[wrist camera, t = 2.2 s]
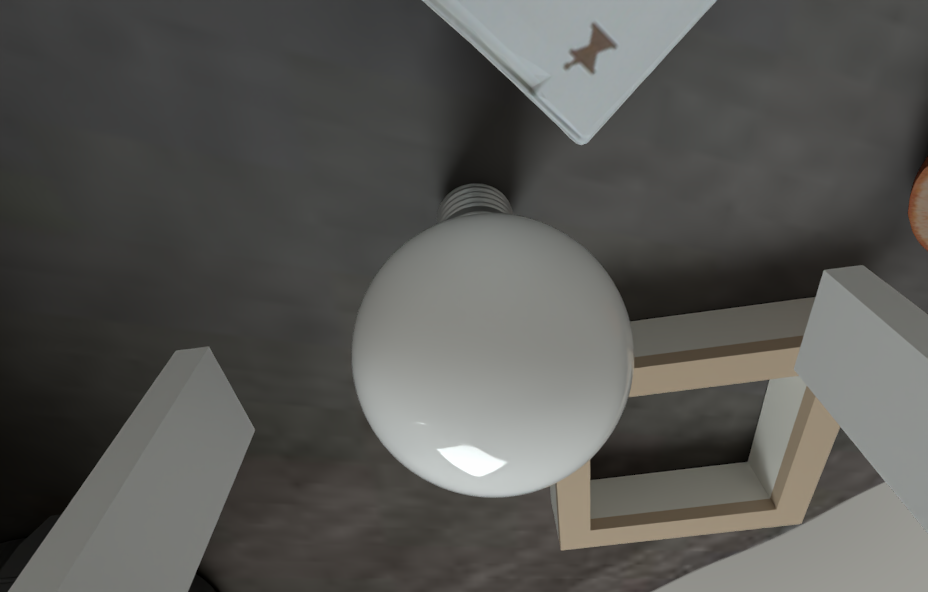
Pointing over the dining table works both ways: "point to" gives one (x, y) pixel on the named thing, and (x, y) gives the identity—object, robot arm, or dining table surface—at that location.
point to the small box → (574, 49)
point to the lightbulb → (492, 350)
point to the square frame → (722, 486)
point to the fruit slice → (920, 205)
